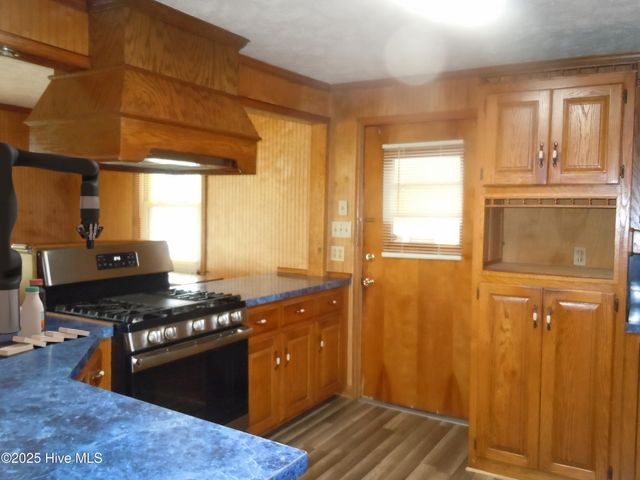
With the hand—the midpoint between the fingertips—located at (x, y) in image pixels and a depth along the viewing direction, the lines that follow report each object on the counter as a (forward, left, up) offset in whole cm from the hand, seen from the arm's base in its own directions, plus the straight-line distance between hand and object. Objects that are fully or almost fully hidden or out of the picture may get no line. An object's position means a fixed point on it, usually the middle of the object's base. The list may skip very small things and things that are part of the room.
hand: (90, 249), depth 221 cm
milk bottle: (-3, -25, -33) cm, 42 cm away
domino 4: (+8, -23, -32) cm, 40 cm away
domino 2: (+9, -36, -33) cm, 50 cm away
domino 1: (+9, -37, -31) cm, 49 cm away
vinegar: (-21, -9, -33) cm, 40 cm away
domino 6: (+9, -11, -32) cm, 35 cm away
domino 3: (+8, -31, -32) cm, 45 cm away
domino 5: (+8, -16, -32) cm, 37 cm away
